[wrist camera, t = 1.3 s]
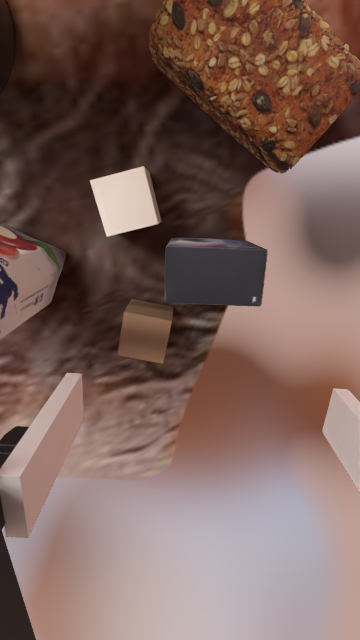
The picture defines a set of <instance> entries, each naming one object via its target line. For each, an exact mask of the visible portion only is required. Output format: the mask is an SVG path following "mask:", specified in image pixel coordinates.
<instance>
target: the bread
mask: <svg viewBox="0 0 360 640" xmlns="http://www.w3.org/2000/svg"><path fill="white" fill-rule="evenodd" d="M149 48H150V51H151V58H152V60H153V62H154V63H155V65H156V67H157V68H158V69H159V70H160V71H161V72H162V73H163V74H164V75H165V76H166V77H167V78H168V79H169V80H170V81H171V82H173V83H174V84H175V85H176V86H177V87H178V88H179V89H180V90H181V91H182V92H183V93H184V94H186V95H187V96H189V97H190V98H191V100H192V101H193V102H194V103H195V104H197V106H198V107H199V108H200V109H202V110H203V111H204V112H205V113H206V114H207V115H209V116H210V117H211V118H212V119H213V120H214V121H215V122H217V123H218V124H219V125H220V126H221V127H222V128H223V129H224V130H225V131H226V132H227V133H228V134H229V135H230V136H233V137H234V138H235V139H236V140H237V142H238V143H240V144H241V145H242V146H243V147H245V148H246V149H247V150H248V151H249V152H250V153H251V154H252V155H253V156H255V157H256V158H257V159H259V160H260V161H261V162H262V163H263V164H264V165H266V166H267V167H268V168H270V169H271V170H273V171H275V172H280V173H285V172H286V171H287V170H288V169H289V168H290V169H291V168H292V167H293V166H294V165H295V164H296V163H297V162H298V161H299V160H300V158H302V157H303V156H304V155H305V154H306V153H307V151H308V150H309V149H310V148H311V147H312V146H313V145H314V144H315V142H316V141H317V140H318V139H319V138H320V137H321V136H322V135H323V134H324V133H325V131H326V130H327V129H328V128H329V127H330V126H331V125H332V123H333V122H334V121H335V120H336V118H337V117H338V116H339V115H340V114H341V113H342V112H343V111H344V110H345V109H346V107H347V106H348V105H349V104H350V103H351V101H352V99H353V97H354V96H355V94H356V92H359V91H360V60H359V59H358V58H357V57H356V56H354V55H352V54H351V53H350V51H349V46H348V45H347V44H346V43H343V42H342V41H341V40H340V39H339V38H338V37H337V36H336V34H335V33H334V32H333V30H332V29H331V27H330V26H329V25H328V24H327V23H326V22H324V21H323V18H322V17H321V16H319V15H318V14H317V13H316V12H315V11H311V10H310V8H309V6H308V4H307V3H305V2H303V0H164V2H163V5H162V7H161V8H160V9H159V10H158V11H157V13H156V16H155V21H154V23H153V25H152V27H151V29H150V33H149Z"/></svg>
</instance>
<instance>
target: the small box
mask: <svg viewBox="0 0 360 640" xmlns="http://www.w3.org/2000/svg"><path fill="white" fill-rule="evenodd" d="M267 253H268V251H267V249H264V248H262V247H259V246H257V245H255V244H253V243H250V242H248V241H242V240H228V239H206V238H171V239H170V241H169V243H168V245H167V246H166V253H165V302H166V303H185V304H208V305H235V306H261V304H262V295H263V287H264V278H265V269H266V261H267Z"/></svg>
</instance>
